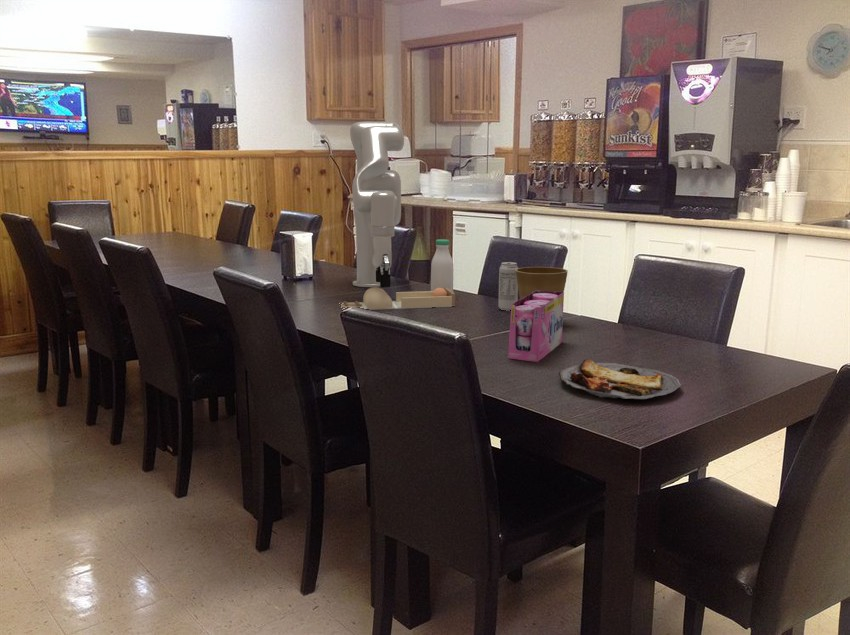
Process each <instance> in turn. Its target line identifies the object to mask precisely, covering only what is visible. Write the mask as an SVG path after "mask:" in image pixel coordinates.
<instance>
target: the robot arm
mask: <svg viewBox="0 0 850 635" xmlns="http://www.w3.org/2000/svg"><path fill="white" fill-rule="evenodd" d="M349 134H350V135H349V136H350V141H351V144H352V147H353V150H354V152H355V156H356V173H355V176H354V178H353V181H352V185H351V186H352V187H351V188H352V189H351V191H352V192H351V193H352V205H353V219H354V224H355V235H356V237H355V238H356V239H355V243H356V280H353V281H352V285H353V286H354V287H359V288H372V287H379V288H390V287H391V270H390V268H391V267H392V257H393V256H392V238H393V237H395V226H397V225H399V224H400V222H401V218H402V180H401V176H400V174H399V172H398V171H396V170H394V169H393V170H392V169H389V167H390V161H389V154H388V152H399V151H402V150H403V148H404V146H405V135H404V131H403V129H402V127H401V126H400V124H398V123H397V122H395V121H373V120H372V121H366V120H365V121H357V122H354V123H352V124H351V125H350V129H349Z"/></svg>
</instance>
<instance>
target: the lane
mask: <svg viewBox="0 0 850 635" xmlns="http://www.w3.org/2000/svg"><path fill="white" fill-rule="evenodd" d="M444 290H445V291H446V292H447V296H440V297H432V293H433V291H431V290H428V291H427V290H426V291H425V290H423V291H398V292H397V291H396V292H395V300H392V298H391V296H389V294H388V293H387V292H386V291H385V290H384V289H383V288H382V287H368V288H367V290H366V291H365V292H364V294H363V296H362V297H363V298H362V302H361V301H358V303H359V304H362V306H361V307H360V308H364V309H369V310H368V311H374V310H375V311H376V310H379V311H381V310H398V309H399V310H402V309H405V310H406V309H407V310H408V309H427V308H429V309H430V308H431V309H432V307H436V308H453V307H452V306H456V293H455V292H454V291H453V292H452V291H451V290H450V289H448V288H444ZM340 303H342V304H344V302H339V303H338V305H339V304H340ZM351 303H355V301H354V302H353V301H352V302H351ZM341 308H342V307H340V309H341ZM343 309H345V308H343ZM343 309H341V311H342V310H343Z"/></svg>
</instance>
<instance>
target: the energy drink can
mask: <svg viewBox="0 0 850 635" xmlns="http://www.w3.org/2000/svg"><path fill="white" fill-rule="evenodd" d="M517 264H518V263H517V262H515V261H514V262H512V261H505V262H501V264H500V266H499V270H498V272H499V274H498V277H499V278H498V306H497V307H498V308H499V310H500V309H501V310H506V311H505V312H511V311H510V310H511V304H513V303H514V302H516V301H518V300H519V298H518V296H519V291H518V285H517V277H516V269H518V268H519V266H518V265H517ZM501 310H500V311H501Z"/></svg>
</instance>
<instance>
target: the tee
mask: <svg viewBox="0 0 850 635" xmlns="http://www.w3.org/2000/svg"><path fill="white" fill-rule="evenodd" d="M354 302H355V303H352V302H347V301H345V300H344V301H343V303H344V304H341V307H345V308H347V307H361V306H362V304H359V303H358V302H359V301H358V300H354ZM341 307H340V308H341Z"/></svg>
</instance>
